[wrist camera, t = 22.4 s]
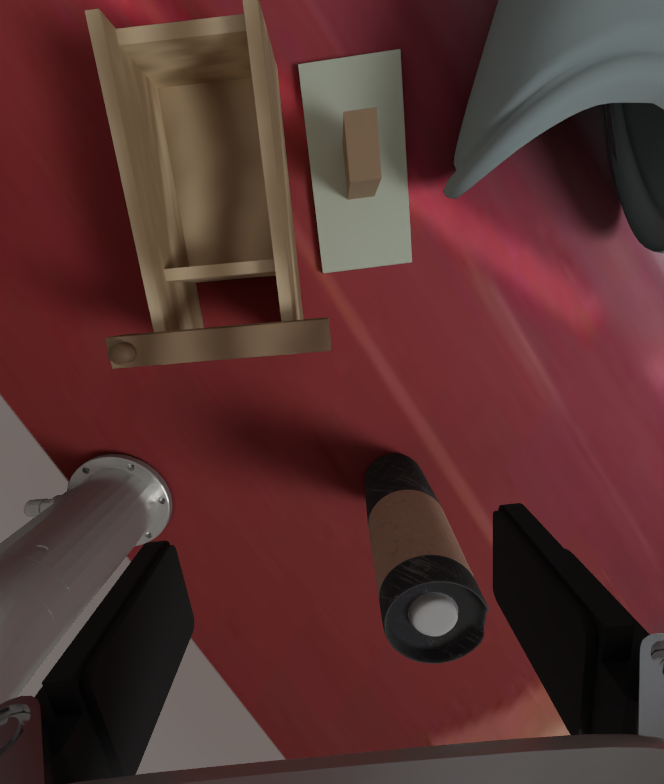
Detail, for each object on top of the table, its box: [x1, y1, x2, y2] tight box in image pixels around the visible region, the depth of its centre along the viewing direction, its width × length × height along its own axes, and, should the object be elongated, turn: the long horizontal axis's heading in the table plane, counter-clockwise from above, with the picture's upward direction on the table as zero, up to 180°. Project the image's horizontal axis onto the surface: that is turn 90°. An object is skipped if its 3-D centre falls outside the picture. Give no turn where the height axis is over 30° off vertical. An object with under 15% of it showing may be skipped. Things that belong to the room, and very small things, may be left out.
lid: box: [298, 49, 412, 273], centre depth 33 cm, size 9×18×7 cm, turn 7°
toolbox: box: [85, 0, 303, 365], centre depth 33 cm, size 12×25×9 cm, turn 5°
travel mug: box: [365, 454, 489, 663], centre depth 35 cm, size 8×8×20 cm
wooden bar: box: [105, 317, 331, 369], centre depth 30 cm, size 18×2×3 cm, turn 95°
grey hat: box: [443, 0, 664, 253], centre depth 28 cm, size 22×19×13 cm
